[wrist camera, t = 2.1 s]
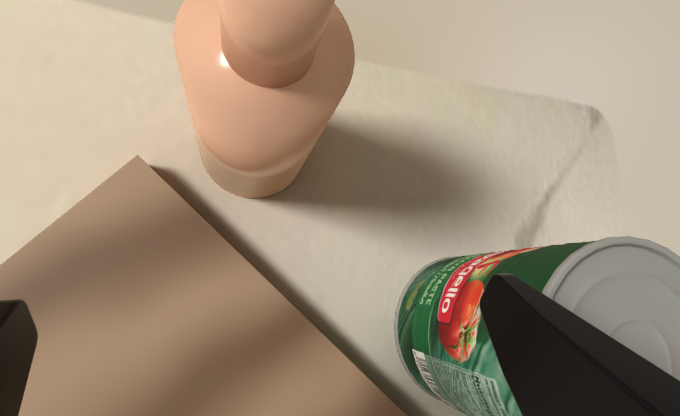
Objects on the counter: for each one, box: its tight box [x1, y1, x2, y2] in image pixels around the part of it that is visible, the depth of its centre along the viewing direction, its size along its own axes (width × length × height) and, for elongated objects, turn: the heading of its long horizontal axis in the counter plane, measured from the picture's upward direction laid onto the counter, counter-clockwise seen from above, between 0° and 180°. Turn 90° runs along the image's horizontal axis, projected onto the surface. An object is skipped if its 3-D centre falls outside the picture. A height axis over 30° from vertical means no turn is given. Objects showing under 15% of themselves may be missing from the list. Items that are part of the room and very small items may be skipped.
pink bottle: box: [174, 0, 355, 198], centre depth 16 cm, size 5×5×14 cm
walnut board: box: [0, 155, 407, 416], centre depth 18 cm, size 20×13×2 cm, turn 47°
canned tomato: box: [394, 237, 680, 416], centre depth 18 cm, size 8×8×11 cm
